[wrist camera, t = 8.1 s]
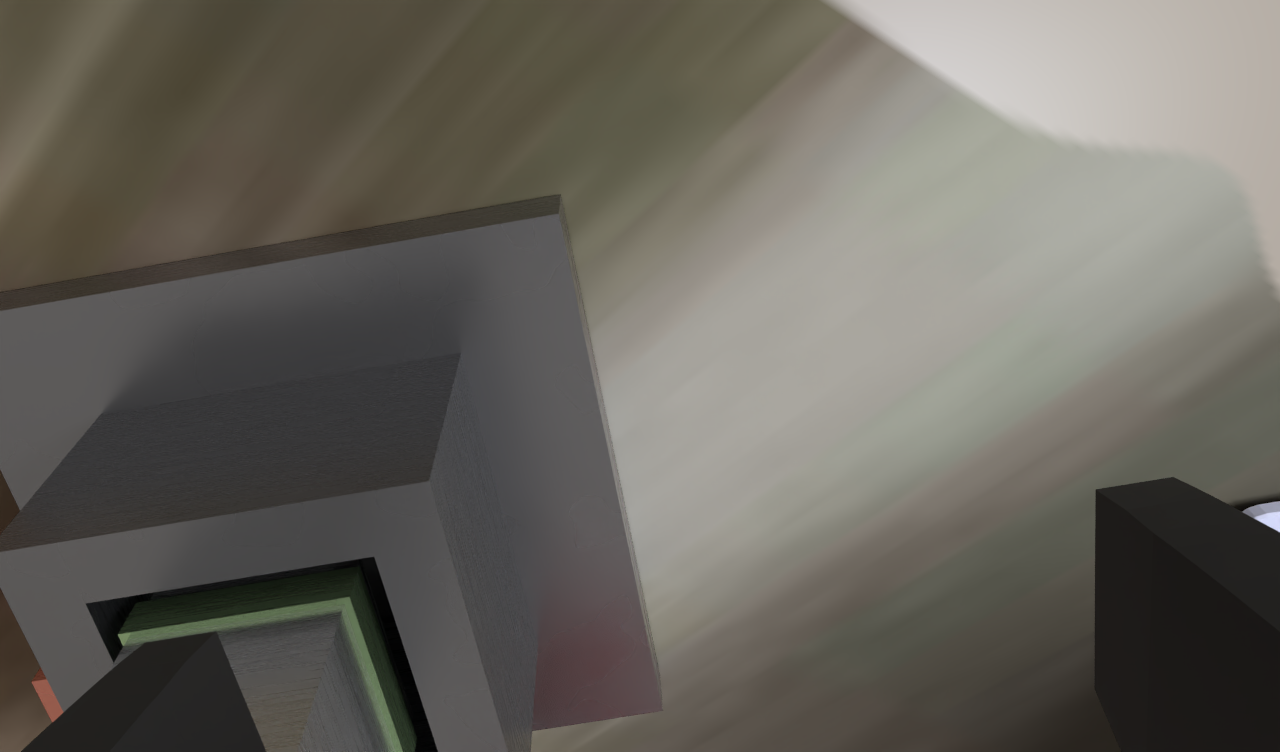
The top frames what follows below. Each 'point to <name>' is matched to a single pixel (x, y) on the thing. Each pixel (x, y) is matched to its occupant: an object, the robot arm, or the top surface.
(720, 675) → the top surface
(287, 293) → the grey square socket base
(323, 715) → the light grey rectangular block
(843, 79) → the top surface
